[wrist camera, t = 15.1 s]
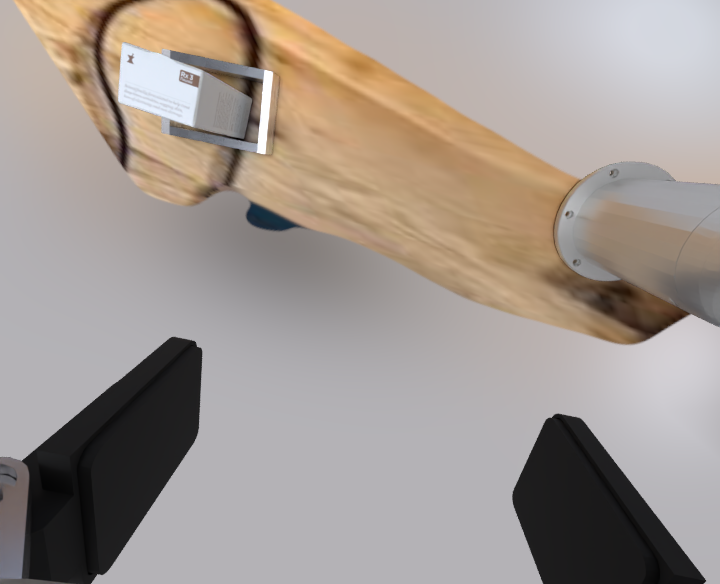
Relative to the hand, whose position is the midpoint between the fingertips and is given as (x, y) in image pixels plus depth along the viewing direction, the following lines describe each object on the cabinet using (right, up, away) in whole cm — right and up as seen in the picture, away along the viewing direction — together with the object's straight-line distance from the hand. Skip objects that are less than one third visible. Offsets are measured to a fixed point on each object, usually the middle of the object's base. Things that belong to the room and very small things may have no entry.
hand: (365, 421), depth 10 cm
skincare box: (-14, +23, +28) cm, 39 cm away
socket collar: (-14, +23, +28) cm, 39 cm away
